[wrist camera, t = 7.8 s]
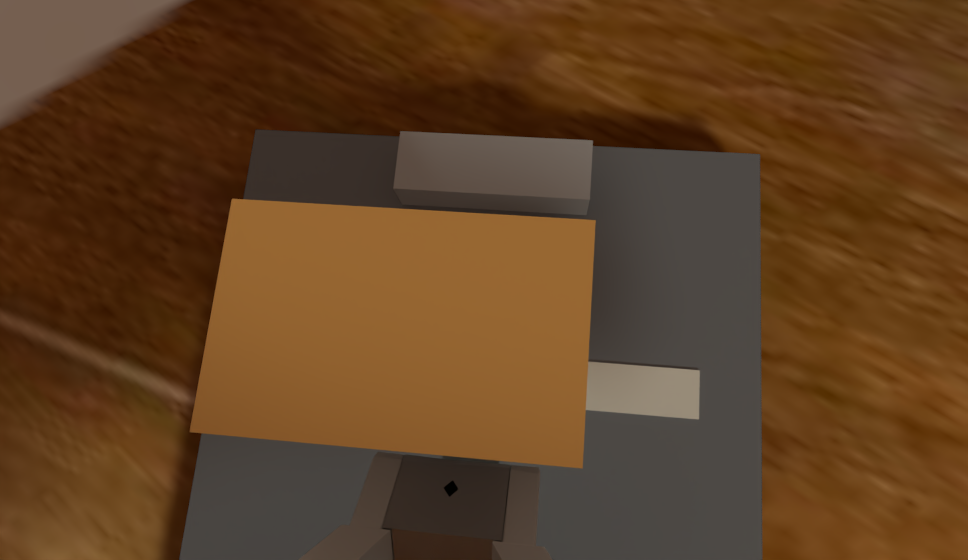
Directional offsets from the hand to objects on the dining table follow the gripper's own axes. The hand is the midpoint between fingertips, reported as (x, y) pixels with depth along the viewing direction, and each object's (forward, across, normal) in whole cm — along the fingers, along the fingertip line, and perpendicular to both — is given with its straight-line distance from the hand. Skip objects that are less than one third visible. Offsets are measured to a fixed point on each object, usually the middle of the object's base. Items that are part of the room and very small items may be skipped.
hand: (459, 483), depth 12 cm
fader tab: (+5, 0, -2) cm, 5 cm away
